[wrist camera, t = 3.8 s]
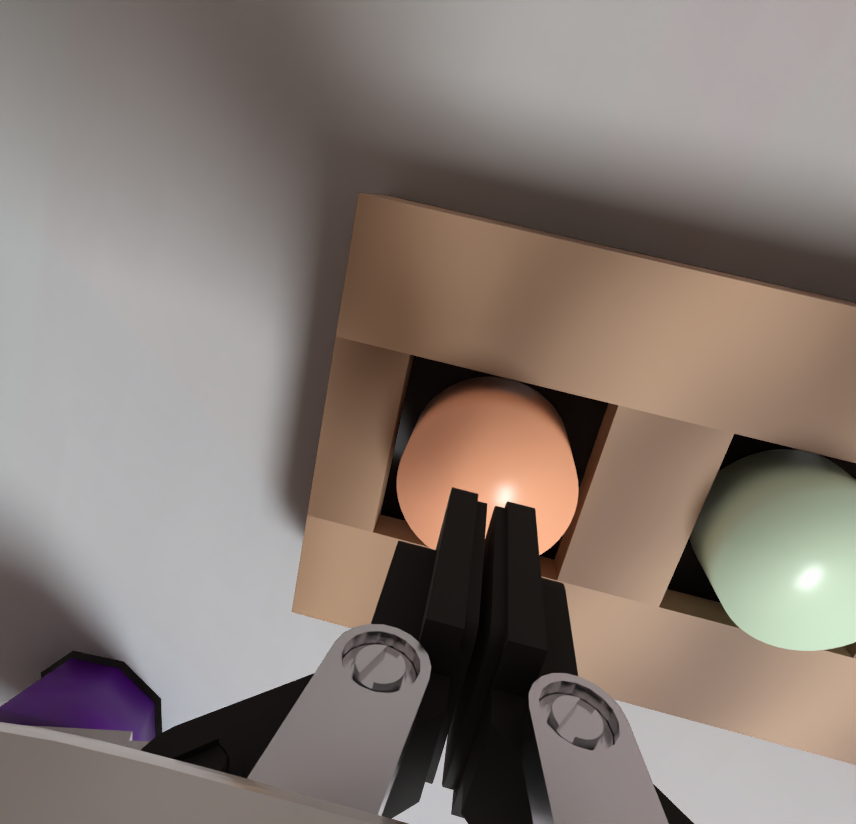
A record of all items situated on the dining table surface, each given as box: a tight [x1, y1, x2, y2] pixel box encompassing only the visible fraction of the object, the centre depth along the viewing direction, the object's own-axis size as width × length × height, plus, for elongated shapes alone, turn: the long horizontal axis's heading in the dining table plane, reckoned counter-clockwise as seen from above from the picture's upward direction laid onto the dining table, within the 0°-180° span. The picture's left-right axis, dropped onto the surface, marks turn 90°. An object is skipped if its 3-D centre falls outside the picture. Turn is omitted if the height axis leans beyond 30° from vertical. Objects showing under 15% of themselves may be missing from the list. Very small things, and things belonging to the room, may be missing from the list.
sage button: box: [690, 449, 856, 651], centre depth 15 cm, size 4×4×2 cm
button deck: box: [292, 193, 856, 765], centre depth 16 cm, size 25×12×3 cm, turn 78°
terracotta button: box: [397, 377, 579, 555], centre depth 15 cm, size 4×4×2 cm
